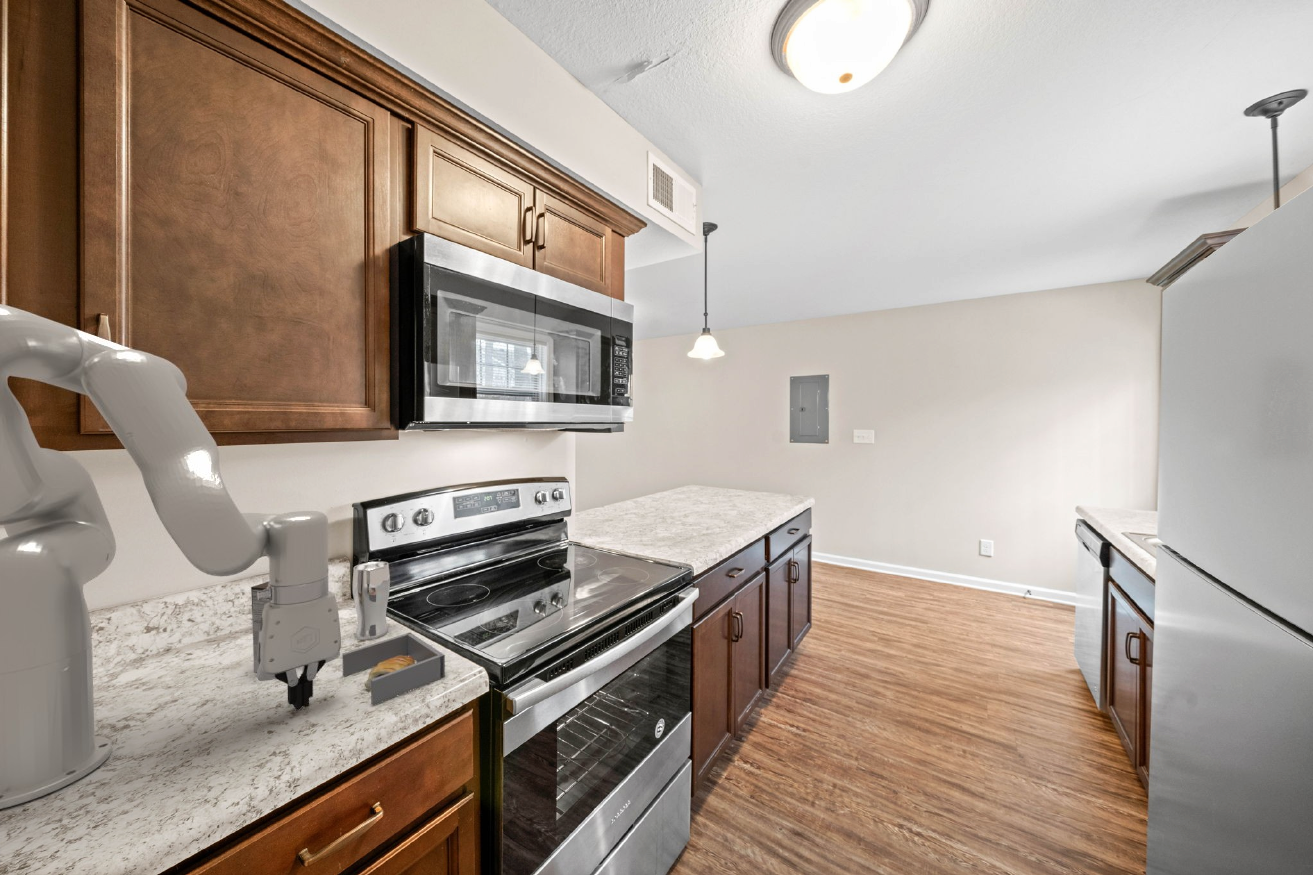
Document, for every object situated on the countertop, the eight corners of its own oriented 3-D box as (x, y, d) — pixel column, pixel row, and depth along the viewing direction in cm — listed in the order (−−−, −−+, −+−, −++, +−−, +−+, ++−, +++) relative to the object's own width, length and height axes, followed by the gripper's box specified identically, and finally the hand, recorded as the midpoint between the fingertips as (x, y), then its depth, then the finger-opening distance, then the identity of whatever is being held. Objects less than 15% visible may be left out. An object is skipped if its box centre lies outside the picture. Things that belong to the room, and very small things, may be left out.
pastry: (387, 666, 91) (387, 646, 91) (424, 665, 92) (424, 645, 92) (361, 693, 82) (361, 671, 82) (403, 692, 82) (403, 670, 82)
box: (373, 705, 78) (372, 681, 78) (342, 675, 87) (342, 653, 87) (444, 676, 87) (444, 654, 87) (410, 652, 96) (410, 632, 96)
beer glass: (345, 637, 103) (344, 568, 103) (375, 625, 109) (375, 559, 109) (368, 643, 100) (367, 571, 100) (397, 630, 107) (396, 563, 106)
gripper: (243, 609, 68) (244, 737, 68) (361, 584, 80) (361, 694, 80) (233, 597, 73) (234, 717, 73) (345, 575, 84) (345, 678, 85)
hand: (300, 704), depth 77 cm, fingers closed
